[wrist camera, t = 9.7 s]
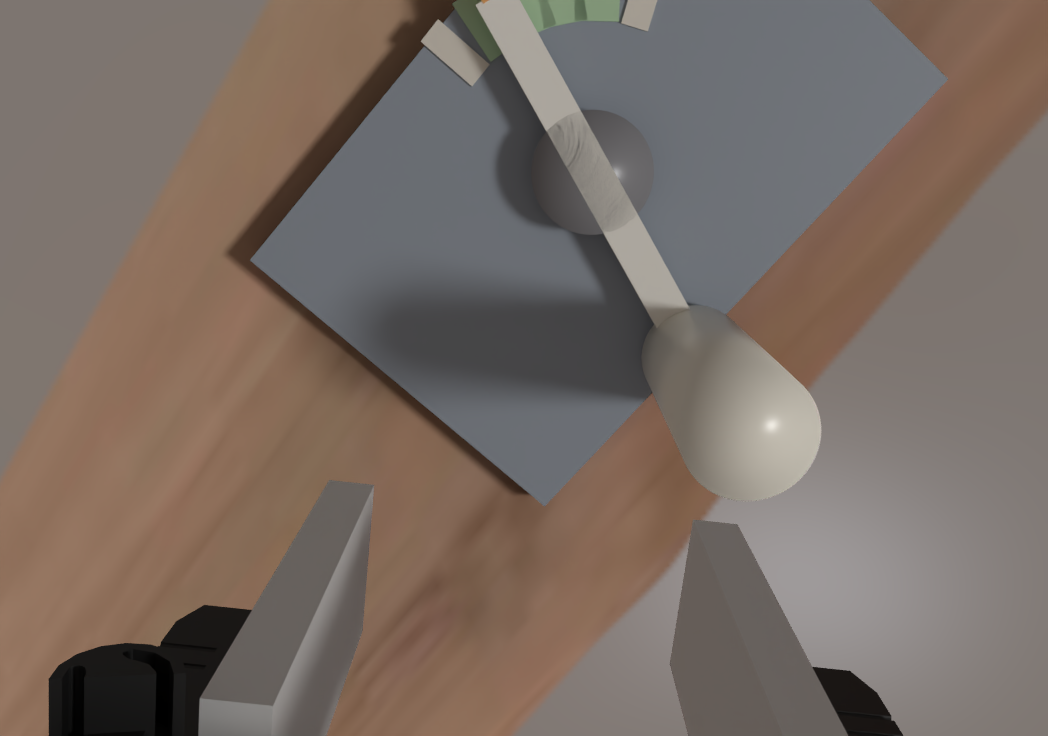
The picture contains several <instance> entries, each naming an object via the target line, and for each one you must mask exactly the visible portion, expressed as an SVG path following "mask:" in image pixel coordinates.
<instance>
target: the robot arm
mask: <svg viewBox="0 0 1048 736" xmlns="http://www.w3.org/2000/svg"><path fill="white" fill-rule="evenodd" d="M373 493H374V485H369V484H360V483H351V482H342V481H332V480H329V482H328V483H327V485H326V487H325V488H324V490H323V492H322V493H321V495H320V497H319V498H318V500H317V502H316V504H315V505H314V507H313V509H312V510H311V512H310V514H309V515H308V517H307V519H306V520H305V522H304V524H303V525H302V527H301V529H300V530H299V532H298V534H297V535H296V537H295V539H294V541H293V542H292V544H291V546H290V547H289V549H288V551H287V552H286V554H285V556H284V557H283V559H282V561H281V562H280V564H279V566H278V567H277V569H276V571H275V572H274V574H273V576H272V578H271V579H270V581H269V583H268V584H267V586H266V588H265V589H264V591H263V593H262V594H261V596H260V598H259V599H258V601H257V603H256V604H255V606H254V608H253V609H252V610H246V609H237V608H227V607H218V606H208V605H204V606H202V607H200V608H198V609H197V610H195V611H193V612H192V613H190V614H188V615H186V616H185V617H183V618H181V619H180V620H178V621H176V622H175V624H174V625H173V627H172V628H171V629H170V631H169V632H168V633H167V635H166V636H165V637H164V639H163V640H162V641H161V645H160V646H158V647H156V646H153V645H148V644H132V643H124V644H116V645H108V646H100V647H97V648H94V649H91V650H88V651H85V652H82V653H79V654H76V655H75V656H73V657H72V658H70V659H68V660H67V661H65V662H64V663H62V664H60V665H59V666H58V667H57V669H56V670H55V671H54V673H53V674H52V675H51V677H50V678H49V736H326V735H327V732H328V729H329V726H330V723H331V720H332V717H333V715H334V712H335V709H336V706H337V703H338V700H339V697H340V694H341V691H342V689H343V686H344V683H345V680H346V677H347V674H348V671H349V668H350V665H351V663H352V660H353V657H354V654H355V651H356V648H357V645H358V642H359V639H360V637H361V634H362V630H363V617H364V605H365V592H366V580H367V567H368V555H369V542H370V530H371V518H372V505H373ZM670 666H671V670H672V674H673V678H674V681H675V686H676V689H677V693H678V697H679V701H680V705H681V709H682V713H683V716H684V720H685V724H686V728H687V732H688V736H903V734H902V733H901V731H900V730H899V728H898V726H897V725H896V723H895V721H891V715H890V713H889V712H888V710H887V708H886V707H885V705H884V704H883V702H882V700H881V699H880V697H879V695H878V694H877V693H876V692H875V691H874V690H873V689H872V688H870V687H869V686H868V685H867V684H865V683H864V682H863V681H861V680H860V679H859V678H858V677H857V676H855V675H854V674H853V673H851V671H846V670H836V669H827V668H817V667H812V666H811V664H810V662H809V660H808V658H807V656H806V654H805V652H804V651H803V649H802V647H801V645H800V643H799V641H798V639H797V637H796V635H795V633H794V632H793V630H792V628H791V626H790V624H789V622H788V620H787V618H786V616H785V614H784V613H783V610H782V609H781V607H780V605H779V603H778V601H777V599H776V597H775V595H774V594H773V591H772V589H771V588H770V586H769V584H768V582H767V580H766V578H765V576H764V574H763V572H762V570H761V569H760V567H759V565H758V563H757V561H756V559H755V557H754V555H753V553H752V551H751V549H750V548H749V546H748V544H747V542H746V540H745V538H744V536H743V534H742V532H741V531H740V528H739V527H738V525H737V524H729V523H719V522H710V521H701V520H693V524H692V530H691V536H690V542H689V549H688V555H687V561H686V567H685V573H684V579H683V586H682V592H681V598H680V604H679V610H678V617H677V623H676V629H675V635H674V641H673V647H672V654H671V660H670Z"/></svg>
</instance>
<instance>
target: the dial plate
mask: <svg viewBox="0 0 1048 736" xmlns="http://www.w3.org/2000/svg"><path fill="white" fill-rule="evenodd" d="M520 1H521V3H522V5H523V7H524V9H525V10H526V12H527V14H528V16H529V18H530V19H531V21H532V23H533V25H534V27H535V29H536V30H537V32H538V34H539V36H540V38H541V39H542V41H543V43H544V45H545V47H546V49H547V50H548V52H549V54H550V56H551V58H552V59H553V61H554V63H555V65H556V67H557V69H558V70H559V72H560V74H561V76H562V78H563V79H564V81H565V83H566V85H567V87H568V88H569V90H570V92H571V94H572V96H573V98H574V99H575V101H576V103H577V105H578V107H579V108H580V110H581V111H584V110H603V111H608V112H611V113H614V114H617V115H619V116H621V117H623V118H625V119H626V120H628V121H629V122H630V123H632V124H633V125H634V126H635V127H636V128H637V129H638V130H639V131H640V133H641V134H642V135H643V137H644V138H645V140H646V141H647V144H648V146H649V148H650V151H651V154H652V158H653V164H654V179H653V185H652V189H651V192H650V195H649V197H648V199H647V201H646V203H645V205H644V206H643V208H642V209H641V211H640V212H639V213H638V216H639V217H640V219H641V221H642V223H643V225H644V227H645V228H646V230H647V232H648V234H649V236H650V237H651V239H652V241H653V243H654V245H655V247H656V248H657V250H658V252H659V254H660V256H661V257H662V259H663V261H664V263H665V265H666V267H667V268H668V270H669V272H670V274H671V276H672V277H673V279H674V281H675V283H676V285H677V286H678V288H679V290H680V292H681V294H682V296H683V297H684V299H685V301H686V303H687V305H688V306H690V305H702V306H707V307H711V308H714V309H717V310H719V311H721V312H723V313H724V314H727V313H728V312H729V311H730V310H731V309H732V307H733V306H734V305H735V304H736V303H737V302H738V301H739V300H740V299H741V298H742V297H743V296H744V295H745V294H746V293H747V292H748V291H749V289H750V288H751V287H752V286H753V285H754V284H755V283H756V282H757V281H758V280H759V279H760V278H761V277H762V276H763V275H764V274H765V273H766V271H767V270H768V269H769V268H770V267H771V266H772V265H773V264H774V263H775V262H776V261H777V260H778V259H779V258H780V257H781V256H782V255H783V253H784V252H785V251H786V250H787V249H788V248H789V247H790V246H791V245H792V244H793V243H794V242H795V241H796V240H797V239H798V238H799V237H800V235H801V234H802V233H803V232H804V231H805V230H806V229H807V228H808V227H809V226H810V225H811V224H812V223H813V222H814V221H815V220H816V219H817V218H818V216H819V215H820V214H821V213H822V212H823V211H824V210H825V209H826V208H827V207H828V206H829V205H830V204H831V203H832V202H833V201H834V200H835V198H836V197H837V196H838V195H839V194H840V193H841V192H842V191H843V190H844V189H845V188H846V187H847V186H848V185H849V184H850V183H851V182H852V180H853V179H854V178H855V177H856V176H857V175H858V174H859V173H860V172H861V171H862V170H863V169H864V168H865V167H866V166H867V165H868V164H869V162H870V161H871V160H872V159H873V158H874V157H875V156H876V155H877V154H878V153H879V152H880V151H881V150H882V149H883V148H884V147H885V146H886V144H887V143H888V142H889V141H890V140H891V139H892V138H893V137H894V136H895V135H896V134H897V133H898V132H899V131H900V130H901V129H902V128H903V127H904V125H905V124H906V123H907V122H908V121H909V120H910V119H911V118H912V117H913V116H914V115H915V114H916V113H917V112H918V111H919V110H920V109H921V107H922V106H923V105H924V104H925V103H926V102H927V101H928V100H929V99H930V98H931V97H932V96H933V95H934V94H935V93H936V92H937V91H938V89H939V88H940V87H941V86H942V85H943V84H944V83H945V82H946V81H947V80H948V78H947V77H946V76H945V75H944V74H943V73H942V72H941V71H940V70H939V69H938V68H937V67H936V66H935V65H934V64H933V63H932V62H931V61H930V60H929V59H928V58H927V57H926V56H925V55H924V54H923V53H922V52H921V51H920V50H919V49H918V48H917V47H916V46H915V45H914V44H913V43H912V42H911V41H910V40H909V39H908V38H907V37H906V36H905V35H904V34H903V33H902V32H901V31H900V30H899V29H898V28H897V27H896V26H895V25H894V24H893V23H892V22H891V21H890V20H889V19H888V18H887V17H886V16H885V15H884V14H883V13H882V12H881V11H880V10H879V9H878V8H877V7H876V6H875V5H874V4H873V3H872V2H871V1H870V0H520ZM480 2H481V0H457V1H455V2H454V3H453V4H452V5H453V6H454V8H455V9H454V10H453V12H452V13H451V14H450V15H449V17H448V18H447V19H446V20H445V21H444V23H442V22H441V21H440V20H439V19H438V20H437V21H436V22H435V24H434V25H433V26H432V28H431V29H430V30H429V31H428V33H427V34H426V35H425V37H424V38H423V39H422V40H421V42H422V43H423V44H424V45H425V46H424V47H423V48H422V50H421V51H420V52H419V53H418V55H417V56H416V57H415V58H414V59H413V61H412V62H411V63H410V64H409V66H408V67H407V68H406V69H405V71H404V72H403V73H402V74H401V75H400V77H399V78H398V79H397V80H396V82H395V83H394V84H393V85H392V86H391V88H390V89H389V90H388V91H387V93H386V94H385V95H384V96H383V97H382V99H381V100H380V101H379V102H378V104H377V105H376V106H375V107H374V109H373V110H372V111H371V112H370V113H369V115H368V116H367V117H366V118H365V120H364V121H363V122H362V123H361V124H360V126H359V127H358V128H357V129H356V131H355V132H354V133H353V134H352V136H351V137H350V138H349V139H348V140H347V142H346V143H345V144H344V145H343V147H342V148H341V149H340V150H339V151H338V153H337V154H336V155H335V156H334V158H333V159H332V160H331V161H330V163H329V164H328V165H327V166H326V167H325V169H324V170H323V171H322V172H321V174H320V175H319V176H318V177H317V178H316V180H315V181H314V182H313V183H312V185H311V186H310V187H309V188H308V189H307V191H306V192H305V193H304V194H303V196H302V197H301V198H300V199H299V201H298V202H297V203H296V204H295V205H294V207H293V208H292V209H291V210H290V212H289V213H288V214H287V215H286V216H285V218H284V219H283V220H282V221H281V223H280V224H279V225H278V226H277V228H276V229H275V230H274V231H273V232H272V234H271V235H270V236H269V237H268V239H267V240H266V241H265V242H264V243H263V245H262V246H261V247H260V248H259V250H258V251H257V252H256V253H255V254H254V256H253V257H252V258H251V259H250V261H251V262H253V263H254V264H255V265H256V266H257V267H258V268H260V269H261V270H262V271H263V272H264V273H266V274H267V275H268V276H269V277H270V278H272V279H273V280H274V281H275V282H276V283H278V284H279V285H280V286H281V287H282V288H284V289H285V290H286V291H287V292H288V293H290V294H291V295H292V296H293V297H294V298H296V299H297V300H298V301H299V302H300V303H302V304H303V305H304V306H305V307H306V308H308V309H309V310H310V311H311V312H312V313H314V314H315V315H316V316H317V317H318V318H320V319H321V320H322V321H323V322H324V323H326V324H327V325H328V326H329V327H330V328H332V329H333V330H334V331H335V332H336V333H338V334H339V335H340V336H341V337H342V338H344V339H345V340H346V341H347V342H348V343H350V344H351V345H352V346H353V347H354V348H356V349H357V350H358V351H359V352H360V353H362V354H363V355H364V356H365V357H366V358H367V359H369V360H370V361H371V362H372V363H373V364H375V365H376V366H377V367H378V368H379V369H381V370H382V371H383V372H384V373H385V374H387V375H388V376H389V377H390V378H391V379H393V380H394V381H395V382H396V383H397V384H399V385H400V386H401V387H402V388H403V389H405V390H406V391H407V392H408V393H409V394H411V395H412V396H413V397H414V398H415V399H417V400H418V401H419V402H420V403H421V404H423V405H424V406H425V407H426V408H427V409H429V410H430V411H431V412H432V413H433V414H435V415H436V416H437V417H438V418H439V419H441V420H442V421H443V422H444V423H445V424H447V425H448V426H449V427H450V428H451V429H453V430H454V431H455V432H456V433H457V434H459V435H460V436H461V437H462V438H463V439H465V440H466V441H467V442H468V443H469V444H471V445H472V446H473V447H474V448H475V449H476V450H478V451H479V452H480V453H481V454H482V455H484V456H485V457H486V458H487V459H488V460H490V461H491V462H492V463H493V464H494V465H496V466H497V467H498V468H499V469H500V470H502V471H503V472H504V473H505V474H506V475H508V476H509V477H510V478H511V479H512V480H514V481H515V482H516V483H517V484H518V485H520V486H521V487H522V488H523V489H524V490H526V491H527V492H528V493H529V494H530V495H532V496H533V497H534V498H535V499H536V500H538V501H539V502H540V503H541V504H542V505H544V506H545V505H546V504H547V503H548V502H549V501H550V500H551V499H552V498H553V497H554V496H555V495H556V494H557V493H558V492H559V491H560V489H561V488H562V487H563V486H564V485H565V484H566V483H567V482H568V481H569V480H570V479H571V478H572V477H573V476H574V475H575V474H576V473H577V471H578V470H579V469H580V468H581V467H582V466H583V465H584V464H585V463H586V462H587V461H588V460H589V459H590V458H591V457H592V456H593V455H594V453H595V452H596V451H597V450H598V449H599V448H600V447H601V446H602V445H603V444H604V443H605V442H606V441H607V440H608V439H609V438H610V437H611V435H612V434H613V433H614V432H615V431H616V430H617V429H618V428H619V427H620V426H621V425H622V424H623V423H624V422H625V421H626V420H627V419H628V418H629V416H630V415H631V414H632V413H633V412H634V411H635V410H636V409H637V408H638V407H639V406H640V405H641V404H642V403H643V402H644V401H645V400H646V398H647V397H648V396H649V395H650V394H651V393H652V391H651V389H650V386H649V384H648V382H647V380H646V378H645V375H644V372H643V368H642V361H641V355H642V348H643V344H644V341H645V338H646V336H647V334H648V332H649V331H650V329H651V328H652V326H653V325H654V323H653V321H652V319H651V318H650V316H649V314H648V312H647V310H646V309H645V307H644V305H643V303H642V301H641V300H640V298H639V296H638V294H637V293H636V291H635V289H634V287H633V285H632V284H631V282H630V280H629V278H628V276H627V275H626V273H625V271H624V269H623V268H622V266H621V264H620V262H619V260H618V259H617V257H616V255H615V253H614V252H613V250H612V248H611V246H610V244H609V243H608V241H607V239H606V237H605V235H604V234H598V235H586V234H579V233H575V232H572V231H569V230H567V229H565V228H563V227H561V226H560V225H558V224H557V223H555V222H554V221H553V220H552V219H551V218H549V217H548V215H547V214H546V213H545V212H544V211H543V209H542V208H541V206H540V205H539V203H538V201H537V199H536V196H535V193H534V190H533V186H532V179H531V167H532V160H533V156H534V153H535V150H536V147H537V145H538V143H539V141H540V140H541V138H542V137H543V135H544V134H545V133H546V130H545V129H544V127H543V125H542V123H541V121H540V120H539V118H538V116H537V114H536V112H535V111H534V109H533V107H532V105H531V104H530V102H529V100H528V98H527V96H526V95H525V93H524V91H523V89H522V87H521V86H520V84H519V82H518V80H517V79H516V77H515V75H514V73H513V71H512V70H511V68H510V66H509V64H508V63H507V61H506V59H505V57H504V55H503V54H502V52H501V50H500V48H499V46H498V45H497V43H496V41H495V39H494V38H493V36H492V34H491V32H490V30H489V29H488V27H487V25H486V23H485V22H484V20H483V18H482V16H481V14H480V13H479V11H478V9H477V7H476V4H478V3H480Z"/></svg>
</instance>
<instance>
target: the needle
mask: <svg viewBox="0 0 1048 736" xmlns="http://www.w3.org/2000/svg"><path fill="white" fill-rule="evenodd" d="M476 7H477V9H478V11H479V13H480V14H481V16H482V18H483V20H484V22H485V23H486V25H487V27H488V29H489V30H490V32H491V34H492V36H493V38H494V39H495V41H496V43H497V45H498V46H499V48H500V50H501V52H502V54H503V55H504V57H505V59H506V61H507V63H508V64H509V66H510V68H511V70H512V71H513V73H514V75H515V77H516V79H517V80H518V82H519V84H520V86H521V87H522V89H523V91H524V93H525V95H526V96H527V98H528V100H529V102H530V104H531V105H532V107H533V109H534V111H535V112H536V114H537V116H538V118H539V120H540V121H541V123H542V125H543V127H544V129H545V130H546V133H545V134H544V135H543V137H542V138H541V140H540V141H539V143H538V145H537V147H536V150H535V153H534V156H533V160H532V167H531V179H532V186H533V190H534V193H535V196H536V199H537V201H538V203H539V205H540V206H541V208H542V209H543V211H544V212H545V213H546V214H547V215H548V217H549V218H551V219H552V220H553V221H554V222H555V223H557V224H558V225H560V226H561V227H563V228H565V229H567V230H569V231H572V232H575V233H579V234H586V235H598V234H604V235H605V237H606V239H607V241H608V243H609V244H610V246H611V248H612V250H613V252H614V253H615V255H616V257H617V259H618V260H619V262H620V264H621V266H622V268H623V269H624V271H625V273H626V275H627V276H628V278H629V280H630V282H631V284H632V285H633V287H634V289H635V291H636V293H637V294H638V296H639V298H640V300H641V301H642V303H643V305H644V307H645V309H646V310H647V312H648V314H649V316H650V318H651V319H652V321H653V323H654V325H653V326H652V328H651V329H650V331H649V332H648V334H647V336H646V338H645V341H644V344H643V348H642V355H641V361H642V368H643V372H644V375H645V378H646V380H647V382H648V384H649V386H650V389H651V391H652V393H653V395H654V397H655V399H656V402H657V404H658V406H659V408H660V410H661V412H662V414H663V417H664V419H665V421H666V423H667V425H668V427H669V430H670V432H671V434H672V436H673V438H674V440H675V443H676V445H677V447H678V449H679V451H680V453H681V456H682V458H683V460H684V462H685V464H686V466H687V468H688V470H689V471H690V473H691V474H692V476H693V477H694V478H695V479H696V480H697V481H698V482H699V483H700V484H701V485H702V486H703V487H705V488H706V489H708V490H709V491H711V492H712V493H714V494H717V495H719V496H721V497H724V498H728V499H731V500H737V501H757V500H762V499H766V498H770V497H773V496H775V495H777V494H780V493H782V492H783V491H785V490H787V489H789V488H790V487H791V486H793V485H794V484H795V483H797V482H798V481H799V480H800V478H802V477H803V476H804V474H805V473H806V472H807V470H808V469H809V468H810V466H811V465H812V463H813V461H814V459H815V457H816V454H817V452H818V448H819V445H820V439H821V421H820V415H819V412H818V408H817V406H816V404H815V402H814V400H813V398H812V396H811V395H810V393H809V392H808V391H807V390H806V388H805V387H804V386H803V385H802V384H801V383H800V382H799V381H797V380H796V379H795V378H794V377H793V376H792V375H791V374H790V373H789V372H788V371H787V370H786V369H785V368H783V367H782V366H781V365H780V364H779V363H778V362H777V361H776V360H775V359H774V358H773V357H772V356H770V355H769V354H768V353H767V352H766V351H765V350H764V349H763V348H762V347H761V346H760V345H759V344H758V343H756V342H755V341H754V340H753V339H752V338H751V337H750V336H749V335H748V334H747V333H746V332H745V331H743V330H742V329H741V328H740V327H739V326H738V325H737V324H736V323H735V322H734V321H733V320H732V319H730V318H729V317H728V316H727V315H726V314H724V313H723V312H721V311H719V310H717V309H714V308H711V307H707V306H702V305H690V306H688V305H687V303H686V301H685V299H684V297H683V296H682V294H681V292H680V290H679V288H678V286H677V285H676V283H675V281H674V279H673V277H672V276H671V274H670V272H669V270H668V268H667V267H666V265H665V263H664V261H663V259H662V257H661V256H660V254H659V252H658V250H657V248H656V247H655V245H654V243H653V241H652V239H651V237H650V236H649V234H648V232H647V230H646V228H645V227H644V225H643V223H642V221H641V219H640V217H639V216H638V213H639V212H640V211H641V209H642V208H643V206H644V205H645V203H646V201H647V199H648V197H649V195H650V192H651V189H652V185H653V179H654V164H653V158H652V154H651V151H650V148H649V146H648V144H647V141H646V140H645V138H644V137H643V135H642V134H641V133H640V131H639V130H638V129H637V128H636V127H635V126H634V125H633V124H632V123H630V122H629V121H628V120H626V119H625V118H623V117H621V116H619V115H617V114H614V113H611V112H608V111H603V110H584V111H581V110H580V108H579V107H578V105H577V103H576V101H575V99H574V98H573V96H572V94H571V92H570V90H569V88H568V87H567V85H566V83H565V81H564V79H563V78H562V76H561V74H560V72H559V70H558V69H557V67H556V65H555V63H554V61H553V59H552V58H551V56H550V54H549V52H548V50H547V49H546V47H545V45H544V43H543V41H542V39H541V38H540V36H539V34H538V32H537V30H536V29H535V27H534V25H533V23H532V21H531V19H530V18H529V16H528V14H527V12H526V10H525V9H524V7H523V5H522V3H521V1H520V0H481V2H480V3H478V4H476Z"/></svg>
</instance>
